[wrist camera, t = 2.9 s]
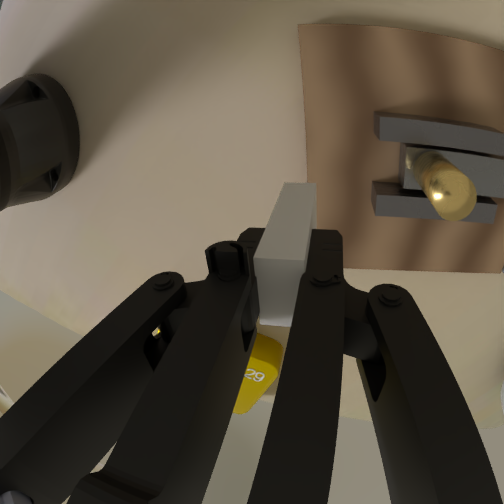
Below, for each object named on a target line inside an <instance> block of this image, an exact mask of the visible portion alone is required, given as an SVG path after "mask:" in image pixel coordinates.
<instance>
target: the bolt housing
mask: <svg viewBox="0 0 504 504" xmlns="http://www.w3.org/2000/svg"><path fill="white" fill-rule="evenodd" d="M374 134H375V135H376V137H377V138H378V139H379V141H391V142H403V143H414V144H424V145H434V146H442V147H450V148H457V149H464V150H471V151H477V152H484V153H489V154H495V155H501V156H504V133H503V132H501V131H499V130H497V129H495V128H493V127H489V126H484V125H479V124H474V123H468V122H463V121H456V120H450V119H443V118H436V117H428V116H420V115H411V114H401V113H389V112H375V111H374ZM371 203H372V206H373V210H374V214H375V216H386V217H405V218H421V219H437V220H445V219H444V218H442V217H441V216H440V215H439V214H438V213H437V211H436V209H435V208H434V206H433V205H432V203H431V202H430V200H429V199H428V197H427V196H426V194H425V193H424V191H423V190H418V189H404V188H403V187H402V185H401V183H395V182H379V181H372V189H371ZM497 206H498V205H497V204H496V203H495V202H494V201H493V200H492V199H491V198H490V197H489V196H481V195H477V199H476V204H475V206H474V208H473V210H472V212H471V213H470V214H469V215H468V216H467V217H465V218H463V219H461V220H458V221H464V222H476V223H488V224H493V223H494V219H495V215H496V211H497Z"/></svg>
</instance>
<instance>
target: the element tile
mask: <svg viewBox="0 0 504 504" xmlns="http://www.w3.org/2000/svg"><path fill="white" fill-rule="evenodd" d="M158 333H159V329H158ZM282 354H283V347H282V345H281V344H280V343H279V342H277V341H276V340H274V339H272V338H269V337H267V336H264V335H262V334H259V333H257V336H256V340H255V343H254V346H253V349H252V353H251V356H250V359H249V362H248V365H247V369H246V372H245V375H244V378H243V381H242V384H241V388H240V391H239V394H238V397H237V400H236V403H235V406H234V409H233V412H232V413H236V414H243V413H246V412H248V411H249V410H250V409H251V407H252V406H253V405H254V404H255V403H256V402H257V401H258V399H259V398H260V397H261V396H262V395H263V394H264V392H265V391H266V390H267V389H268V388H269V386H270V385H271V384H272V383H273V382H274V380H275V379H276V378H277V376H278V373H279V369H280V364H281V359H282Z"/></svg>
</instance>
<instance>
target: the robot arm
mask: <svg viewBox="0 0 504 504" xmlns="http://www.w3.org/2000/svg"><path fill="white" fill-rule="evenodd" d="M2 3H3V0H0V9H1V6H2ZM78 155H79V129H78V123H77V118H76V114H75V111H74V108H73V106H72V103H71V101H70V99H69V97H68V95H67V93H66V92H65V90H64V89H63V88H62V87H61V85H60V84H59V83H58V82H57V81H55V80H54V79H53V78H51V77H49V76H47V75H44V74H32V75H28V76H23V77H20V78H17V79H15V80H13V81H11V82H10V83H8V84H7V85H6V86H4V87H3V88H1V89H0V211H2V210H3V209H5V208H7V207H10V206H15V205H19V204H24V203H29V202H34V201H39V200H43V199H46V198H48V197H50V196H52V195H53V194H55V193H56V192H58V191H59V190H61V189H62V188H64V187H65V186H66V185H67V184H68V182H69V181H70V179H71V178H72V176H73V174H74V171H75V168H76V165H77V161H78ZM316 226H317V198H316V183H284V185H283V188H282V190H281V193H280V195H279V197H278V200H277V202H276V205H275V207H274V209H273V212H272V214H271V217H270V219H269V221H268V224H267V226H266V228H248V229H247V230H245V231H244V232H242V233H241V234H240V236H239V238H238V240H237V241H222V242H218V243H215V244H213V245H211V246H209V247H208V248H207V249H206V250H205V255H206V260H207V265H208V270H209V274H208V276H207V278H206V279H205V280H202V281H196V282H189V283H185V282H184V279H183V277H182V275H181V274H179V273H177V272H162V273H159V274H156V275H154V276H153V277H151V278H150V279H148V280H147V281H146V282H145V283H144V284H142V285H141V286H140V287H139V288H138V289H137V290H136V291H134V292H133V293H132V294H131V295H130V296H129V297H128V298H126V299H125V300H124V301H123V302H122V303H121V304H120V305H119V306H117V307H116V308H115V309H114V310H113V311H112V312H111V313H110V314H108V315H107V316H106V317H105V318H104V319H103V320H102V321H101V322H100V323H98V324H97V325H96V326H95V327H94V328H93V329H92V330H91V331H90V332H89V333H88V334H86V335H85V336H84V337H83V338H82V339H81V340H80V341H79V342H78V343H77V344H76V345H75V346H73V347H72V348H71V349H70V350H69V351H68V352H67V353H66V354H65V355H64V356H63V357H62V358H61V359H60V360H59V361H57V362H56V363H55V364H54V365H53V366H52V367H51V368H50V369H49V370H48V371H47V372H46V373H45V374H44V375H43V376H42V377H41V378H40V379H39V380H38V381H37V382H36V383H35V384H34V385H33V386H32V387H31V388H30V389H29V390H28V391H27V392H26V393H25V394H24V395H23V396H22V397H21V398H20V399H19V400H18V401H17V402H16V403H15V404H14V405H13V406H12V407H11V408H10V409H9V410H8V411H7V412H6V413H5V414H4V415H3V416H2V417H1V418H0V504H62V503H63V502H64V501H65V500H66V499H67V498H68V497H69V496H70V495H71V496H70V498H69V500H68V502H67V504H202V501H203V498H204V495H205V492H206V489H207V486H208V484H209V481H210V478H211V475H212V472H213V469H214V466H215V463H216V460H217V458H218V455H219V452H220V449H221V446H222V443H223V439H224V436H225V434H226V431H227V428H228V425H229V421H230V418H231V415H232V412H233V409H234V406H235V403H236V400H237V397H238V394H239V391H240V388H241V384H242V381H243V378H244V375H245V372H246V369H247V365H248V362H249V359H250V356H251V353H252V349H253V346H254V343H255V340H256V336H257V328H256V322H257V319H258V316H259V318H260V324H261V325H272V326H284V327H291V328H290V333H289V338H288V342H287V347H286V352H285V356H284V361H283V365H282V370H281V374H280V378H279V383H278V387H277V391H276V396H275V400H274V404H273V408H272V412H271V417H270V420H269V424H268V428H267V432H266V436H265V440H264V444H263V448H262V452H261V455H260V459H259V463H258V467H257V470H256V474H255V477H254V481H253V484H252V488H251V491H250V495H249V498H248V502H247V504H327V502H328V497H329V490H330V484H331V477H332V470H333V463H334V455H335V447H336V438H337V429H338V419H339V408H340V396H341V383H342V367H343V354H346V355H349V356H352V357H355V358H356V362H357V366H358V369H359V373H360V376H361V380H362V383H363V387H364V391H365V394H366V398H367V402H368V405H369V409H370V413H371V417H372V421H373V424H374V428H375V433H376V436H377V441H378V445H379V449H380V453H381V458H382V462H383V466H384V471H385V476H386V480H387V485H388V490H389V495H390V500H391V504H503V502H502V499H501V496H500V492H499V489H498V485H497V482H496V479H495V476H494V473H493V470H492V467H491V464H490V461H489V458H488V455H487V453H486V450H485V447H484V445H483V442H482V439H481V437H480V434H479V432H478V429H477V427H476V424H475V422H474V419H473V417H472V415H471V412H470V410H469V407H468V405H467V403H466V401H465V398H464V396H463V394H462V392H461V390H460V387H459V385H458V383H457V381H456V379H455V377H454V375H453V372H452V370H451V368H450V366H449V364H448V362H447V360H446V358H445V356H444V354H443V352H442V350H441V348H440V346H439V345H438V343H437V341H436V339H435V337H434V335H433V333H432V331H431V329H430V328H429V326H428V324H427V322H426V320H425V318H424V317H423V315H422V313H421V311H420V310H419V308H418V306H417V304H416V303H415V301H414V299H413V297H412V296H411V294H410V293H409V292H408V291H407V290H406V289H404V288H402V287H400V286H397V285H394V284H381V285H377V286H375V287H373V288H372V289H371V290H370V292H369V293H368V292H364V291H361V290H358V289H355V288H354V287H352V286H350V285H349V284H348V283H347V282H346V280H345V279H344V275H343V236H342V235H341V234H340V233H339V231H338V230H329V229H316ZM157 327H158V329H159V333H158V334H157V335H155V336H153V335H152V332H153V331H154V330H155V329H156V328H157ZM116 442H117V443H116ZM115 443H116V445H115V447H114V449H113V451H112V453H111V455H110V456H109V458H108V460H107V462H106V464H105V466H104V467H103V468H102V469H101V470H100V471H98V472H94V473H90V472H91V471H92V470H93V469H94V467H95V466H96V465H97V464H98V463H99V462H100V460H101V459H102V458H103V457H104V456H105V455H106V453H107V452H108V451H109V450H110V449H111V448H112V446H113V445H114V444H115Z"/></svg>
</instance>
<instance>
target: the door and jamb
mask: <svg viewBox="0 0 504 504" xmlns="http://www.w3.org/2000/svg"><path fill="white" fill-rule="evenodd" d="M298 32H299V43H300V54H301V66H302V80H303V94H304V110H305V129H306V151H307V182H308V183H316V198H317V226H316V229H329V230H338V231H339V233H340V234H341V235H342V236H343V268H354V269H379V270H406V271H435V272H468V273H501V271H502V272H503V273H504V198H497V197H490V198H491V199H492V200H493V201H494V202H495V203H496V204H497V205H498V206H497V211H496V215H495V219H494V223H493V224H488V223H476V222H464V221H448V220H437V219H421V218H405V217H386V216H375V214H374V210H373V206H372V203H371V189H372V181H379V182H395V183H400V182H399V180H398V172H399V156H400V142H391V141H379V139H378V138H377V137H376V135H375V134H374V111H375V112H389V113H401V114H411V115H420V116H428V117H436V118H443V119H450V120H456V121H463V122H468V123H474V124H479V125H484V126H489V127H493V128H495V129H497V130H499V131H501V132H503V133H504V51H502V50H498V49H495V48H492V47H488V46H485V45H481V44H478V43H474V42H470V41H466V40H462V39H457V38H453V37H448V36H443V35H438V34H433V33H427V32H421V31H415V30H408V29H400V28H391V27H381V26H369V25H351V24H298Z"/></svg>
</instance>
